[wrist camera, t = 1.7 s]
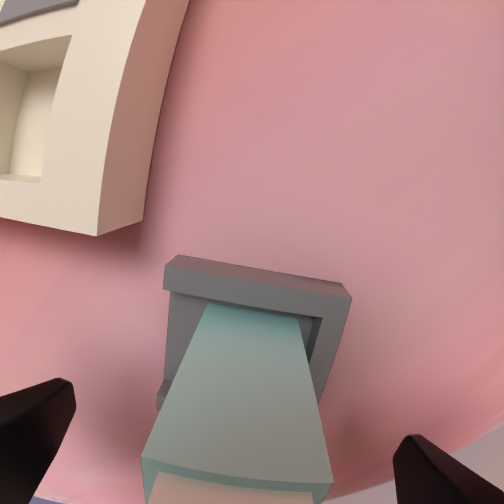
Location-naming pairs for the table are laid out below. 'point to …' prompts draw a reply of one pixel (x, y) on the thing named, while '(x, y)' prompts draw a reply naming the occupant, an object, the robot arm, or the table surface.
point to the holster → (252, 309)
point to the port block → (81, 108)
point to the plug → (239, 418)
